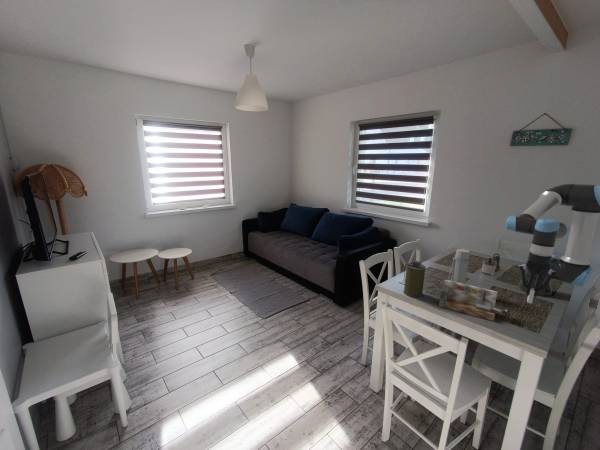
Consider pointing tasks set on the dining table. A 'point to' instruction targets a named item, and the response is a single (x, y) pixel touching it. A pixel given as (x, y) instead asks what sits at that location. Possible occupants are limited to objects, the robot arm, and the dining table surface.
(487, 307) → the silver block with knob
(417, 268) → the canister
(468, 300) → the brown wooden box
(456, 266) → the water bottle
